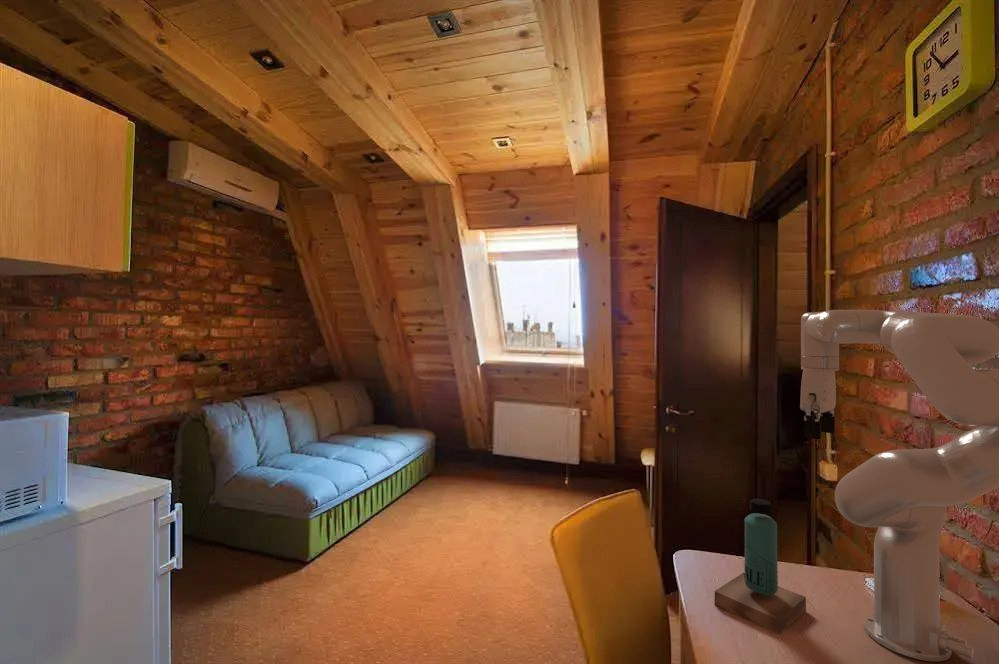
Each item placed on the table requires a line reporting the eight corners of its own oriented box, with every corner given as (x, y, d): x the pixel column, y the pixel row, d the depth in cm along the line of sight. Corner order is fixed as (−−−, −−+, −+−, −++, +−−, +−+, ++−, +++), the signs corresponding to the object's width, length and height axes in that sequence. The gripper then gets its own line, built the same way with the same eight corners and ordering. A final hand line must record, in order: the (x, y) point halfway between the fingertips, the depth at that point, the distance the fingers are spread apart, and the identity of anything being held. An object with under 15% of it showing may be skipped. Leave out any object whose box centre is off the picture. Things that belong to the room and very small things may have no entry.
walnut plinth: (805, 611, 100) (805, 597, 100) (779, 635, 92) (778, 619, 92) (743, 585, 110) (743, 572, 110) (714, 604, 103) (714, 591, 103)
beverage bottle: (779, 591, 102) (778, 498, 102) (777, 606, 97) (777, 508, 97) (745, 582, 106) (745, 493, 106) (742, 596, 100) (742, 502, 100)
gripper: (814, 361, 121) (814, 428, 121) (788, 364, 110) (788, 437, 110) (849, 362, 116) (849, 432, 116) (826, 366, 105) (826, 443, 105)
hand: (819, 435), depth 113 cm, fingers open, 9 cm apart
